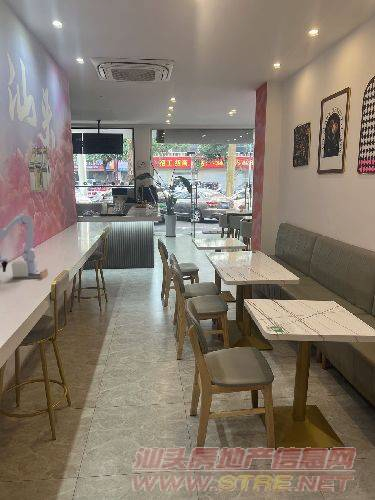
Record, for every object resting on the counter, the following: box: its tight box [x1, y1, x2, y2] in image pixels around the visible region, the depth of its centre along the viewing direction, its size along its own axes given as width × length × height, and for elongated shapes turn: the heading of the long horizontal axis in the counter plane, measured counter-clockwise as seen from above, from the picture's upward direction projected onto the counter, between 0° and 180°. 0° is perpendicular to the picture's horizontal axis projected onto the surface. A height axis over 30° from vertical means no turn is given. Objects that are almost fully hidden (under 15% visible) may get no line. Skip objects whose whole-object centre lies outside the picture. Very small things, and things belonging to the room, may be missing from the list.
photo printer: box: [11, 260, 29, 277], centre depth 278 cm, size 10×4×12 cm, turn 96°
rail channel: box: [12, 268, 48, 280], centre depth 278 cm, size 10×22×5 cm, turn 90°
